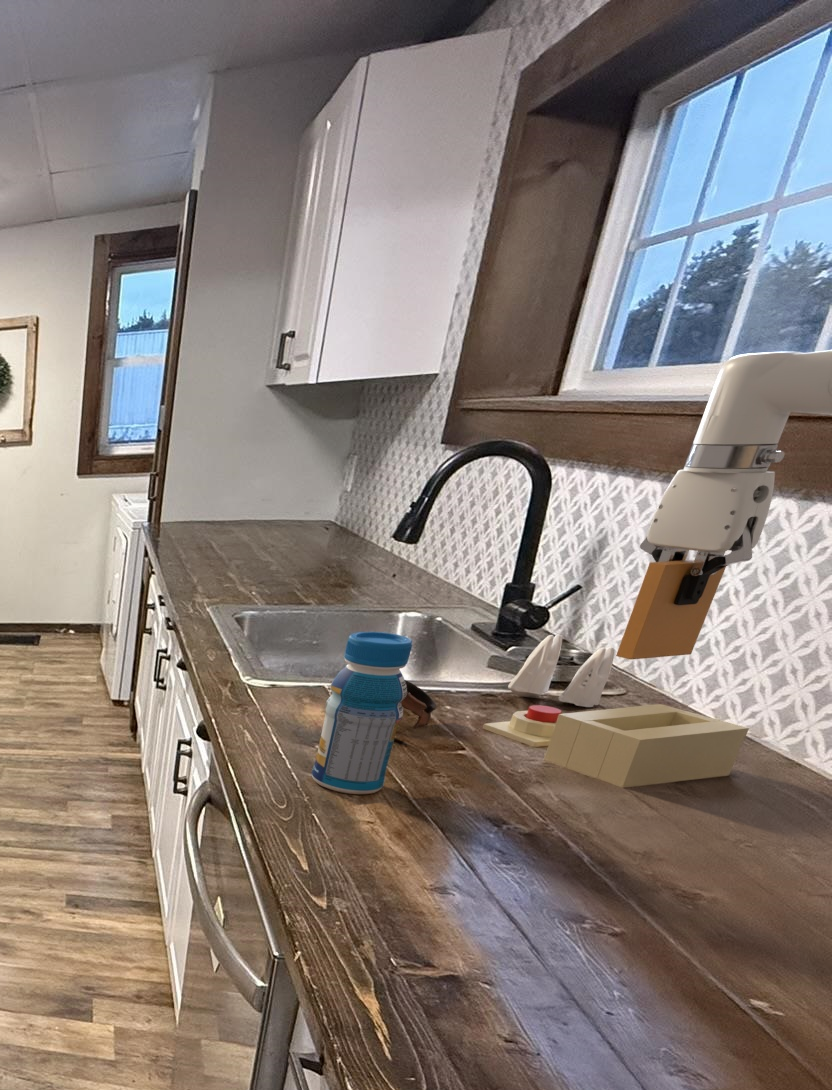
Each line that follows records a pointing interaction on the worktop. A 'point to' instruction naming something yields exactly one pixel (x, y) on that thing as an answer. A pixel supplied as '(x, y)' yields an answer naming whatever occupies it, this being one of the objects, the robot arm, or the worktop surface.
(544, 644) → the shaker set
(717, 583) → the toast
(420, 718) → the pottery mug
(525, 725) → the button block
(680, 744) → the toaster
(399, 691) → the beverage bottle
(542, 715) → the pop button
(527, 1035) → the worktop surface
